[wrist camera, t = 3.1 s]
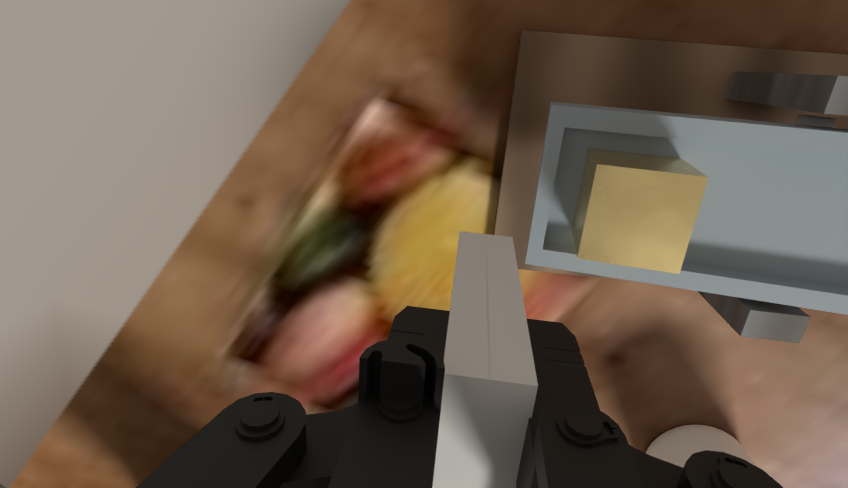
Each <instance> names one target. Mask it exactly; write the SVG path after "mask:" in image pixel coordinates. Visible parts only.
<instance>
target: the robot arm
mask: <svg viewBox="0 0 848 488" xmlns="http://www.w3.org/2000/svg"><path fill="white" fill-rule="evenodd" d="M0 488H5V487H4V486H3V485H1V484H0ZM136 488H783V487H782V486H781V485H780V484H779V483H777V482H776V481H775V480H774V479H773V478H772V477H770V476H769V475H768V474H767V473H766V472H764V471H763V470H762V469H760V468H758V467H756V466H755V465H753V464H751V463H749V462H748V461H746V460H744V459H742V458H739V457H736V456H733V455H730V454H727V453H725V452H718V451H709V450H705V451H701V452H697V453H693V454H692V455H691V456H690V457H689V459H688V460H687V461H686V463H685V465H684V468H682V467H680V466H677V465H674V464H672V463H669V462H666V461H664V460H661V459H658V458H656V457H653V456H650V455H648V454H646V453H644V452H641V451H639V450H637V449H635V448H634V447H632V446H630V445H629V444H628V442H627V439H626V437H625V435H624V433H623V432H622V430H621V429H620V427H619V425H618V424H617V423H616V422H615V421H613V420H612V419H611V418H610V417H609V416H608V415H606V414H605V413H603V412H601V411H600V409H599V406H598V403H597V400H596V397H595V394H594V391H593V388H592V385H591V382H590V379H589V376H588V373H587V370H586V367H584V361H583V358H582V355H581V354H580V349H579V346H578V343H577V340H576V337H575V336H574V335H573V334H572V333H571V332H570V331H569V330H568V329H567V328H566V327H565V326H564V325H563V324H562V323H558V322H549V321H541V320H533V319H526V313H525V307H524V301H523V295H522V290H521V284H520V278H519V272H518V266H517V261H516V255H515V249H514V243H513V237H508V236H499V235H490V234H480V233H471V232H462V231H460V233H459V241H458V249H457V257H456V265H455V273H454V281H453V289H452V297H451V305H450V311H445V310H437V309H428V308H420V307H412V306H407V307H406V308H405V309H403V310H402V311H401V312H400V313H399V314H397V315H396V316H395V318H394V321H393V324H392V327H391V331H390V333H389V336H388V339H387V340H385V341H381V342H377V343H376V344H374V345H372V346H370V347H368V348H367V349H366V350H365V351H364V353H363V354H362V355H361V357H360V367H359V401H358V402H357V403H356V404H354V405H352V406H350V407H347V408H345V409H342V410H338V411H333V412H328V413H319V414H309V415H306V411H305V409H304V408H303V406H302V405H301V403H300V402H299V401H298V400H296V399H294V398H292V397H291V396H289V395H286V394H280V393H274V392H268V393H257V394H253V395H250V396H247V397H244V398H241V399H239V400H237V401H235V402H234V403H232V404H231V405H229V406H228V407H226V408H225V409H224V410H223V411H221V412H220V413H219V414H218V415H217V416H216V417H215V418H214V419H212V420H211V421H210V422H209V423H208V424H207V425H206V426H205V427H203V428H202V429H201V430H200V431H199V432H198V433H197V434H196V435H195V436H193V437H192V438H191V439H190V440H189V441H188V442H187V443H186V444H184V445H183V446H182V447H181V448H180V449H179V450H178V451H177V452H175V453H174V454H173V455H172V456H171V457H170V458H169V459H168V460H166V461H165V462H164V463H163V464H162V465H161V466H160V467H159V468H158V469H156V470H155V471H154V472H153V473H152V474H151V475H150V476H149V477H147V478H146V479H145V480H144V481H143V482H142V483H141V484H140V485H138V486H137V487H136Z"/></svg>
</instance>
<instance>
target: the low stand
mask: <svg viewBox="0 0 848 488" xmlns="http://www.w3.org/2000/svg"><path fill="white" fill-rule="evenodd" d="M551 102H561V103H572V104H582V105H593V106H604V107H615V108H625V109H636V110H647V111H658V112H668V113H679V114H690V115H701V116H712V117H722V118H733V119H744V120H755V121H765V122H776V123H787V124H795V121H796V118H797V116H798V115H812V116H821V117H829V118H836V119H837V122H836V124H835V127H834V128H841V129H848V54H836V53H823V52H809V51H796V50H782V49H769V48H755V47H742V46H728V45H715V44H701V43H688V42H674V41H661V40H647V39H634V38H620V37H607V36H593V35H580V34H566V33H553V32H539V31H526V30H522V31H521V35H520V43H519V50H518V57H517V65H516V72H515V79H514V87H513V94H512V101H511V109H510V116H509V123H508V131H507V138H506V145H505V153H504V160H503V167H502V175H501V182H500V189H499V197H498V204H497V211H496V219H495V226H494V233H493V235H499V236H508V237H513V243H514V249H515V255H516V261H517V266H518V269H524V270H534V271H543V272H552V273H561V274H570V275H579V276H588V277H597V278H606V279H615V280H625V279H618V278H612V277H606V276H599V275H593V274H587V273H580V272H574V271H568V270H561V269H555V268H548V267H542V266H536V265H529V264H525V259H526V248H527V242H528V236H529V230H530V224H531V218H532V212H533V206H534V200H535V194H536V188H537V182H538V176H539V170H540V164H541V158H542V152H543V146H544V140H545V134H546V128H547V122H548V116H549V110H550V104H551ZM625 281H631V280H625ZM634 282H637V281H634ZM643 283H644V282H643ZM698 292H699V293H700V294H701V295H702V296H703V297H704V299H705V300H706V301H707V302H708V303H709V304H710V305H711V306H712V307H713V308H714V309H715V310H716V311H717V312H718V313H719V314H720V315H721V316H722V317H723V318H724V319H725V321H726V322H727V323H728V324H729V325H730V326H731V327H732V328H733V329H734V330H735V331H736V332H737V333H738V334H739V335H740V336H742V337H751V338H760V339H768V340H777V341H785V342H794V343H799V342H800V340H801V338H802V335H803V333H804V331H805V328H806V326H807V324H808V322H809V319H810V316H809V315H807V314H806V313H805V312H803V311H802V310H801V309H800V308H798V307H796V306H789V305H783V304H777V303H770V302H764V301H758V300H751V299H745V298H739V297H732V296H726V295H720V294H713V293H707V292H701V291H698Z"/></svg>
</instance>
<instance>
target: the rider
mask: <svg viewBox="0 0 848 488" xmlns="http://www.w3.org/2000/svg"><path fill="white" fill-rule="evenodd" d="M708 178H709V177H708V176H706V175H705V174H703V173H702V172H700V171H699V170H698V169H696V168H695V167H693V166H692V165H690V164H689V163H687V162H686V161H684V160H683V159H681V158H676V157H667V156H658V155H649V154H640V153H631V152H621V151H612V150H603V149H594V148H588V151H587V156H586V161H585V166H584V171H583V176H582V181H581V186H580V191H579V196H578V201H577V206H576V211H575V216H574V221H573V226H572V232H573V237H574V243H575V249H576V255H577V259H584V260H590V261H597V262H604V263H610V264H617V265H623V266H630V267H636V268H643V269H649V270H656V271H663V272H669V273H676V274H680V270H681V267H682V264H683V261H684V257H685V254H686V251H687V247H688V244H689V241H690V237H691V234H692V231H693V227H694V224H695V221H696V217H697V214H698V211H699V207H700V204H701V201H702V198H703V194H704V191H705V188H706V184H707V181H708Z"/></svg>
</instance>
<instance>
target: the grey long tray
mask: <svg viewBox="0 0 848 488" xmlns="http://www.w3.org/2000/svg"><path fill="white" fill-rule="evenodd" d="M836 122H837V119H836V118H829V117H821V116H812V115H798V116H797V118H796V121H795V124H787V123H776V122H765V121H755V120H744V119H733V118H722V117H712V116H701V115H690V114H679V113H668V112H658V111H647V110H636V109H625V108H615V107H604V106H593V105H582V104H572V103H561V102H551V104H550V110H549V116H548V122H547V128H546V134H545V140H544V146H543V152H542V158H541V164H540V170H539V176H538V182H537V188H536V194H535V200H534V206H533V212H532V218H531V224H530V230H529V236H528V242H527V248H526V259H525V264H529V265H536V266H542V267H548V268H555V269H561V270H568V271H574V272H580V273H587V274H593V275H599V276H606V277H612V278H618V279H625V280H631V281H637V282H644V283H650V284H656V285H663V286H669V287H675V288H682V289H688V290H694V291H701V292H707V293H713V294H720V295H726V296H732V297H739V298H745V299H751V300H758V301H764V302H770V303H777V304H783V305H789V306H796V307H802V308H808V309H815V310H821V311H827V312H834V313H840V314H846V315H848V129H841V128H834V127H835V124H836ZM588 148H594V149H603V150H612V151H621V152H631V153H640V154H649V155H658V156H667V157H676V158H681V159H683V160H684V161H686V162H687V163H689V164H690V165H692V166H693V167H695V168H696V169H698V170H699V171H700V172H702V173H703V174H705V175H706V176H708V177H709V178H708V181H707V184H706V188H705V191H704V194H703V198H702V201H701V204H700V207H699V211H698V214H697V217H696V221H695V224H694V227H693V231H692V234H691V237H690V241H689V244H688V247H687V251H686V254H685V257H684V261H683V264H682V267H681V270H680V274H676V273H669V272H663V271H656V270H649V269H643V268H636V267H630V266H623V265H617V264H610V263H604V262H597V261H590V260H584V259H577V255H576V249H575V243H574V237H573V232H572V226H573V221H574V216H575V211H576V206H577V201H578V196H579V191H580V186H581V181H582V176H583V171H584V166H585V161H586V156H587V151H588Z"/></svg>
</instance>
